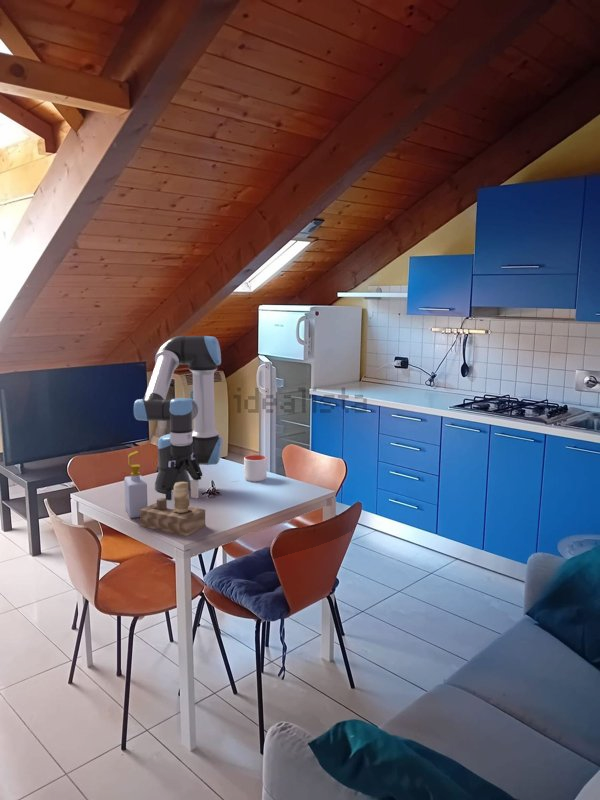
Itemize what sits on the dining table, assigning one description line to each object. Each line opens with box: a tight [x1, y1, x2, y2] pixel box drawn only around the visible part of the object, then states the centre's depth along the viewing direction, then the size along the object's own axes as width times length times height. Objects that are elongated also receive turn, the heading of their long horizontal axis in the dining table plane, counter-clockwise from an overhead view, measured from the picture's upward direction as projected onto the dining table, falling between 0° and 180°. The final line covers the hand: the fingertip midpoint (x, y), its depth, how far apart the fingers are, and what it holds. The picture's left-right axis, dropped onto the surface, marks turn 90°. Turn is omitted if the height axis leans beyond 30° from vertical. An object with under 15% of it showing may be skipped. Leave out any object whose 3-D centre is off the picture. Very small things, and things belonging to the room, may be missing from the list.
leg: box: [174, 482, 190, 515], centre depth 216 cm, size 5×5×15 cm
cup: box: [243, 454, 268, 483], centre depth 277 cm, size 10×10×10 cm
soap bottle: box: [124, 450, 149, 519], centre depth 231 cm, size 12×7×23 cm, turn 23°
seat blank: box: [139, 497, 206, 537], centre depth 219 cm, size 20×11×9 cm, turn 64°
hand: (182, 502), depth 216 cm, fingers open, 13 cm apart
